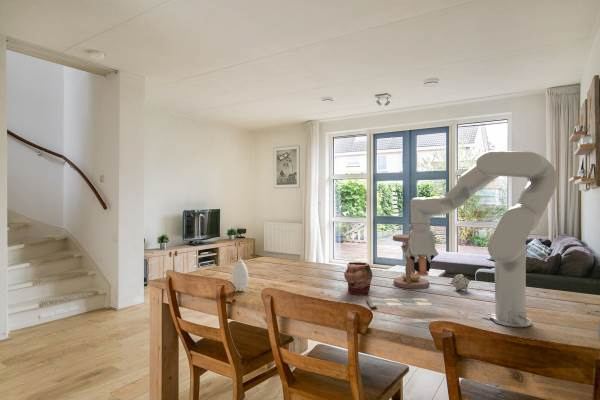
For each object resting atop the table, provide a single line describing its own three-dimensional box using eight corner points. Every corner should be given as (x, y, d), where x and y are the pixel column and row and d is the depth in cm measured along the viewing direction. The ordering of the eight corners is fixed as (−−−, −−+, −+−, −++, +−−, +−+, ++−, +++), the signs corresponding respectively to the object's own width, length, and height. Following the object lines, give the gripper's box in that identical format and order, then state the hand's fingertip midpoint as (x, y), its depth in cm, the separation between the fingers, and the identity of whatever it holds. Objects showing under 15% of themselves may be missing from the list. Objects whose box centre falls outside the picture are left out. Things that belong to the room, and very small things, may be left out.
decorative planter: (356, 285, 183) (355, 258, 183) (379, 288, 176) (378, 260, 176) (339, 295, 166) (338, 265, 166) (363, 298, 159) (363, 267, 159)
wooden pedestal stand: (402, 279, 195) (401, 233, 195) (434, 283, 184) (433, 235, 184) (387, 285, 182) (386, 236, 182) (421, 290, 171) (420, 238, 171)
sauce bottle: (244, 293, 171) (243, 256, 171) (229, 292, 174) (229, 255, 174) (251, 289, 178) (250, 253, 178) (237, 288, 181) (236, 253, 181)
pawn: (430, 275, 146) (429, 251, 147) (418, 275, 147) (417, 252, 147) (426, 273, 151) (425, 250, 151) (414, 273, 151) (414, 250, 152)
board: (436, 308, 143) (436, 305, 143) (371, 309, 144) (371, 306, 144) (426, 300, 155) (426, 297, 155) (366, 300, 156) (366, 297, 156)
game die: (464, 299, 169) (474, 285, 163) (446, 292, 171) (455, 278, 165) (464, 285, 176) (473, 272, 170) (447, 279, 178) (455, 265, 172)
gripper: (402, 228, 146) (404, 273, 145) (444, 227, 145) (445, 272, 145) (398, 227, 153) (399, 270, 153) (437, 226, 153) (439, 269, 152)
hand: (422, 270), depth 149 cm, fingers closed on pawn, 3 cm apart
